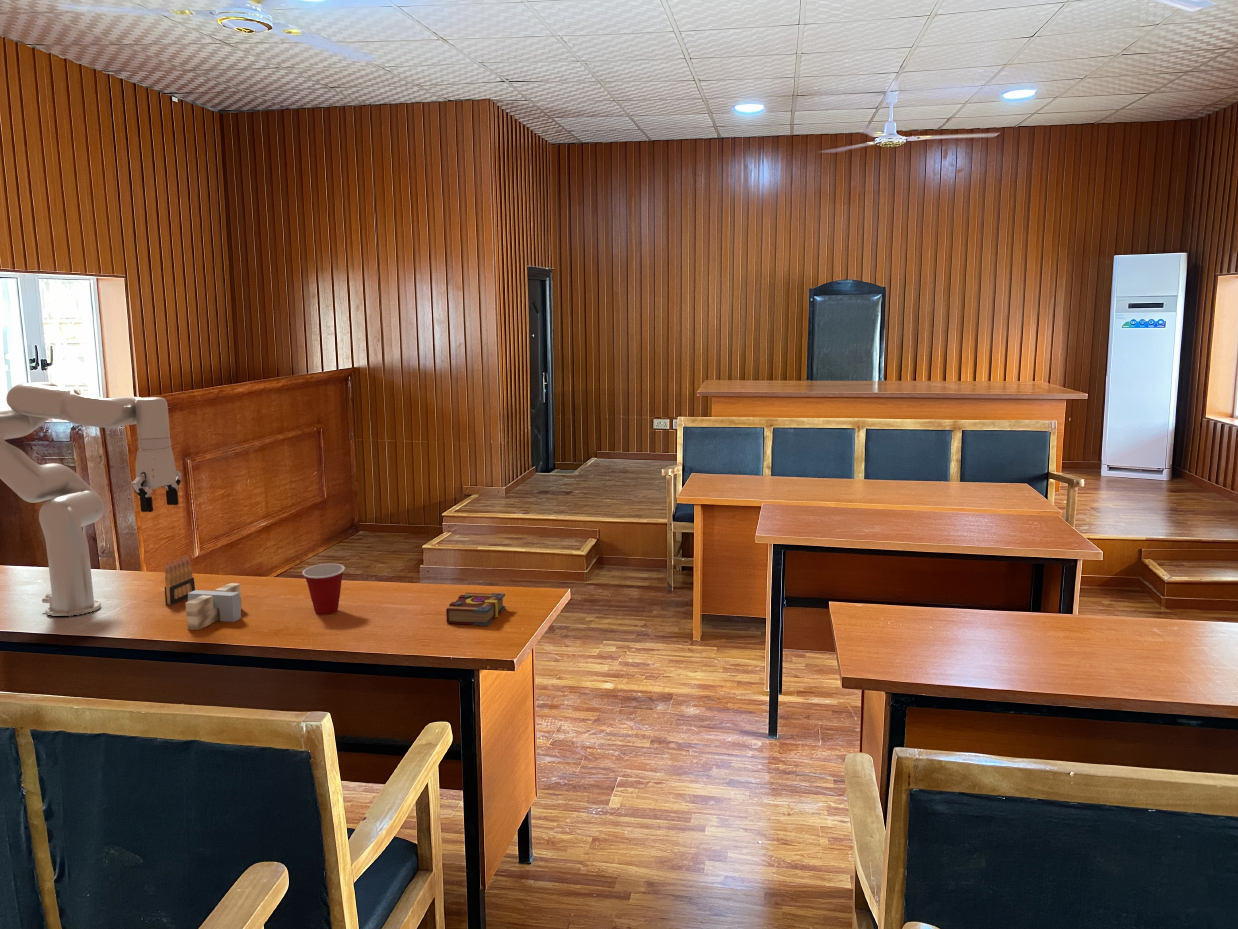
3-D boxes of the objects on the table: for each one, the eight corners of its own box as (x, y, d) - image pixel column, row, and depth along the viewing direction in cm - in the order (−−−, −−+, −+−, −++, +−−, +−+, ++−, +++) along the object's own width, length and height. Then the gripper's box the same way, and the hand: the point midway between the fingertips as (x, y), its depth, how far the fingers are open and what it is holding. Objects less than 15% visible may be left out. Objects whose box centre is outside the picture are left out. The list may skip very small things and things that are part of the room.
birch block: (198, 630, 220) (196, 603, 219) (187, 629, 220) (185, 602, 219) (241, 608, 237) (239, 583, 236) (231, 608, 238) (230, 583, 237)
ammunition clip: (171, 605, 241) (167, 563, 239) (165, 605, 241) (161, 563, 240) (195, 594, 252) (192, 553, 250) (190, 594, 252) (186, 553, 250)
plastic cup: (298, 618, 228) (295, 574, 227) (313, 606, 239) (311, 563, 237) (339, 618, 228) (336, 573, 226) (352, 605, 239) (350, 563, 237)
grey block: (189, 619, 229) (187, 593, 228) (197, 615, 232) (195, 590, 231) (233, 621, 226) (232, 595, 225) (241, 618, 229) (239, 592, 228)
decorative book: (445, 625, 223) (444, 606, 222) (467, 606, 238) (466, 588, 238) (487, 627, 221) (487, 608, 220) (507, 608, 236) (506, 590, 236)
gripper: (165, 440, 239) (170, 502, 241) (117, 448, 222) (123, 514, 224) (189, 440, 237) (194, 502, 240) (143, 448, 220) (149, 515, 223)
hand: (160, 508), depth 232 cm, fingers open, 9 cm apart
